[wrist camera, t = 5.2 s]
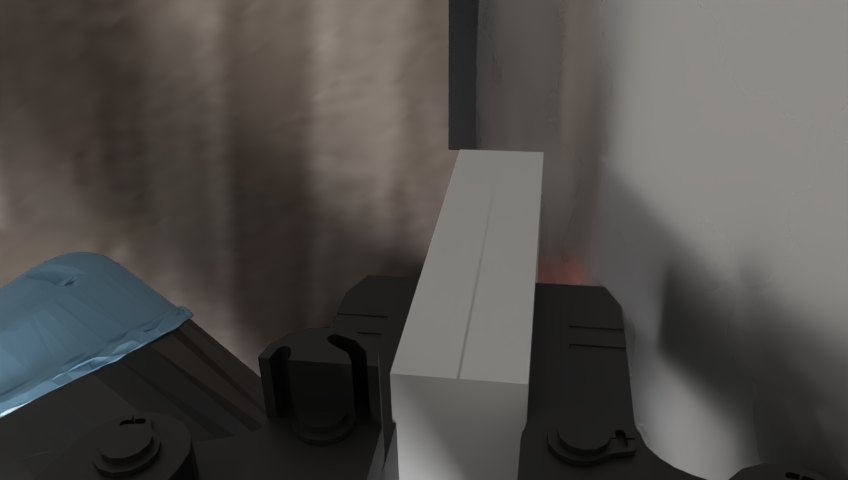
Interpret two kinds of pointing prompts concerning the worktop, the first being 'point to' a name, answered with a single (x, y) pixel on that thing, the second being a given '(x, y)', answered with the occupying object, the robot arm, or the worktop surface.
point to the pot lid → (694, 206)
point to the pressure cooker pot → (462, 73)
